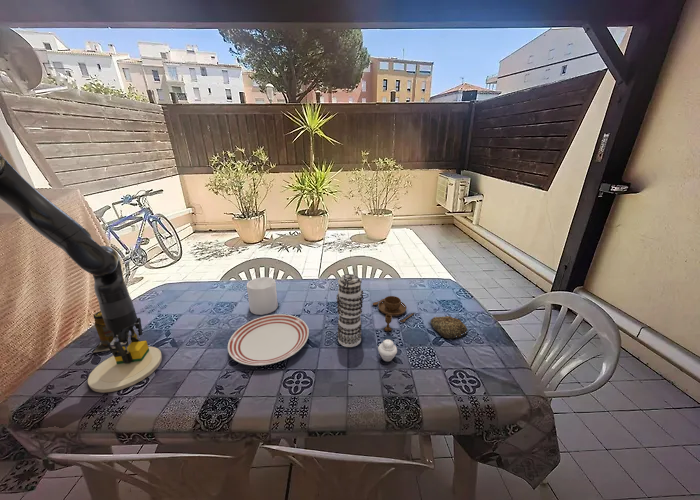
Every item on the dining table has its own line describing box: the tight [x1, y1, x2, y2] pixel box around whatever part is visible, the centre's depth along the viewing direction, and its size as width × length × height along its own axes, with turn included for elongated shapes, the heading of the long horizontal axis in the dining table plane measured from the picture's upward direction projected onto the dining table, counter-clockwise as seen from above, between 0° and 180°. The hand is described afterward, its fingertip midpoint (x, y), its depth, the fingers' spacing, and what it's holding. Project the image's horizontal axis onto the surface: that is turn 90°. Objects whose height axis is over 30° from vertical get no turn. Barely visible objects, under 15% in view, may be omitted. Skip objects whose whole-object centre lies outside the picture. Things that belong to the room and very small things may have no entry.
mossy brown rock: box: [430, 315, 468, 339], centre depth 104 cm, size 13×12×5 cm
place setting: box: [372, 295, 414, 333], centre depth 113 cm, size 18×20×6 cm
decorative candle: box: [336, 273, 364, 348], centre depth 94 cm, size 9×9×25 cm
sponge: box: [115, 340, 149, 364], centre depth 87 cm, size 7×5×4 cm
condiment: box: [92, 310, 124, 353], centre depth 94 cm, size 7×8×12 cm
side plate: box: [87, 345, 163, 394], centre depth 84 cm, size 18×18×1 cm
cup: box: [246, 276, 279, 316], centre depth 116 cm, size 12×12×12 cm
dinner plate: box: [227, 313, 310, 367], centre depth 96 cm, size 28×27×3 cm
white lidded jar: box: [377, 338, 398, 362], centre depth 88 cm, size 6×6×7 cm
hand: (133, 356), depth 88 cm, fingers closed on sponge, 5 cm apart
